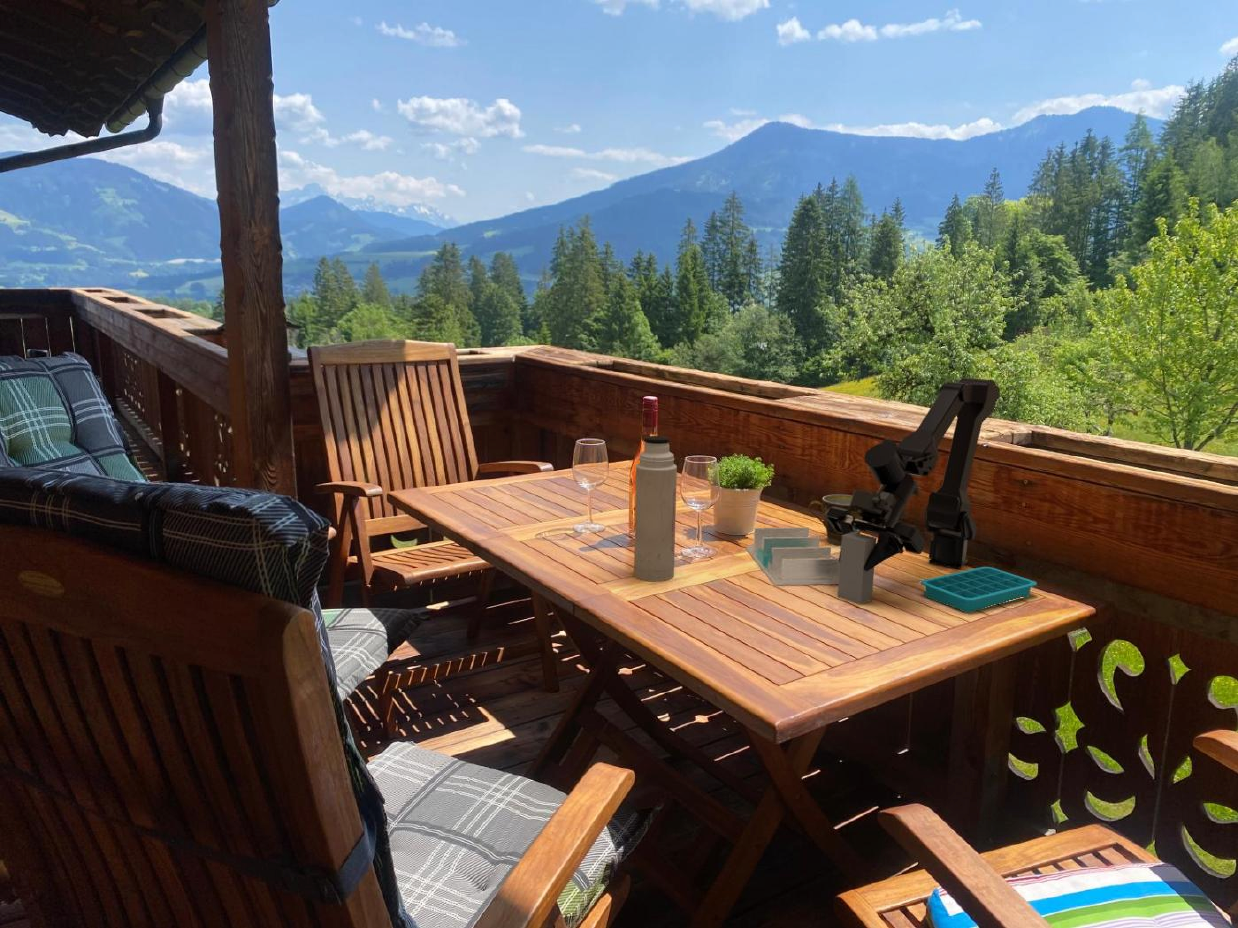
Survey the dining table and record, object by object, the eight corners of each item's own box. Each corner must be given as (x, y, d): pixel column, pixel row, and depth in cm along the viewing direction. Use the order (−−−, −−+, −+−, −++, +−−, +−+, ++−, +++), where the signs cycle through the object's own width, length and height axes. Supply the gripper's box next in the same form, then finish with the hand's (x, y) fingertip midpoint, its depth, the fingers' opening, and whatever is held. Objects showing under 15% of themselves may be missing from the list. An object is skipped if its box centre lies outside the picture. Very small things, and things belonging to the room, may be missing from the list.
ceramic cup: (860, 536, 200) (863, 495, 198) (868, 549, 190) (871, 505, 188) (804, 534, 201) (806, 493, 199) (809, 546, 191) (811, 503, 189)
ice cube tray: (915, 596, 162) (917, 581, 162) (985, 580, 172) (987, 565, 171) (967, 616, 152) (969, 600, 152) (1038, 598, 162) (1040, 583, 162)
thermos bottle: (676, 570, 174) (680, 434, 169) (670, 582, 167) (674, 441, 161) (637, 566, 176) (640, 432, 170) (630, 579, 168) (633, 439, 162)
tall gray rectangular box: (848, 592, 163) (853, 531, 160) (871, 600, 159) (876, 538, 156) (837, 596, 160) (842, 535, 158) (860, 604, 157) (865, 541, 154)
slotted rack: (812, 548, 190) (814, 526, 189) (849, 583, 167) (851, 559, 166) (746, 549, 189) (747, 527, 188) (774, 585, 166) (776, 560, 165)
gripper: (833, 465, 164) (794, 530, 160) (922, 482, 150) (881, 554, 146) (855, 499, 171) (817, 562, 166) (941, 518, 157) (903, 588, 152)
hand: (852, 566), depth 157 cm, fingers closed on tall gray rectangular box, 5 cm apart
